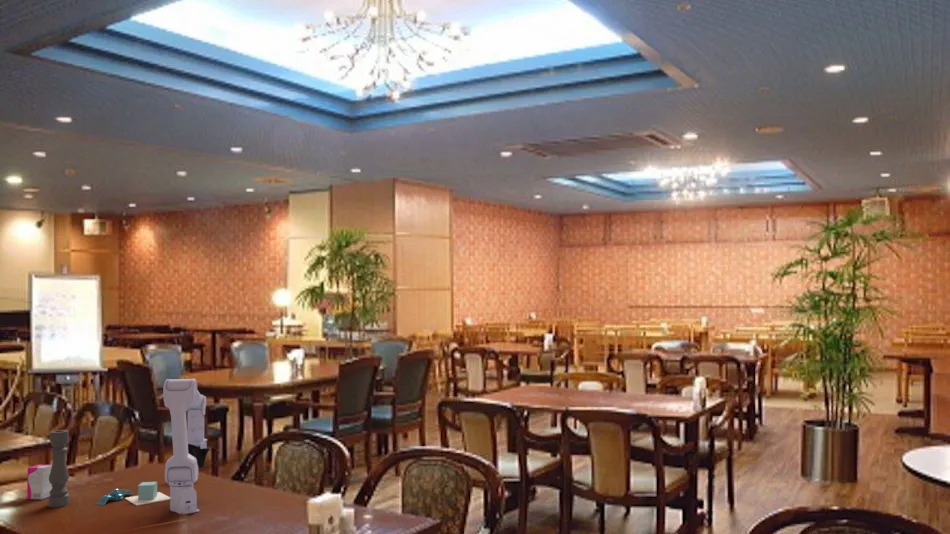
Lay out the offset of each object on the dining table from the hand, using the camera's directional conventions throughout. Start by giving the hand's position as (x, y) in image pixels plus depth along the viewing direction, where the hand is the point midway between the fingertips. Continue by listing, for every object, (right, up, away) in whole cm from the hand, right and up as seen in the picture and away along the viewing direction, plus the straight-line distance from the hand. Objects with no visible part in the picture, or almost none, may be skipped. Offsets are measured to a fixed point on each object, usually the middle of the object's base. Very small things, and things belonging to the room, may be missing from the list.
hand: (195, 466), depth 287 cm
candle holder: (-41, -9, -17) cm, 45 cm away
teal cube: (-13, -9, -9) cm, 19 cm away
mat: (-13, -9, -9) cm, 19 cm away
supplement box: (-52, -10, -8) cm, 54 cm away
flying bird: (-25, -10, -9) cm, 29 cm away
